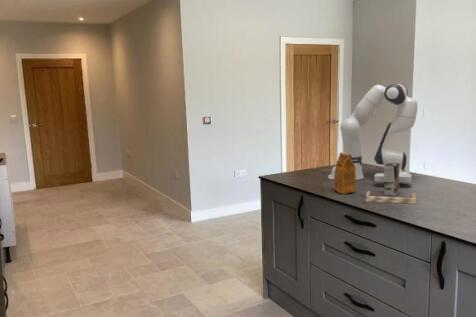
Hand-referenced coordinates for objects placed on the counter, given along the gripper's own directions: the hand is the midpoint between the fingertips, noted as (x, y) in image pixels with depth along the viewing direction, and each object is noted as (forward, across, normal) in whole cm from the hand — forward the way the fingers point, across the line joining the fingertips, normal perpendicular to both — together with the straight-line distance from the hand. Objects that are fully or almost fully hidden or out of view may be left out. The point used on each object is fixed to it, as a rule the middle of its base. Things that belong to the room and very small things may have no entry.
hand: (392, 180), depth 237 cm
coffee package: (+9, -25, +5) cm, 27 cm away
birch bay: (+21, 0, +5) cm, 22 cm away
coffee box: (+8, 0, +5) cm, 10 cm away
